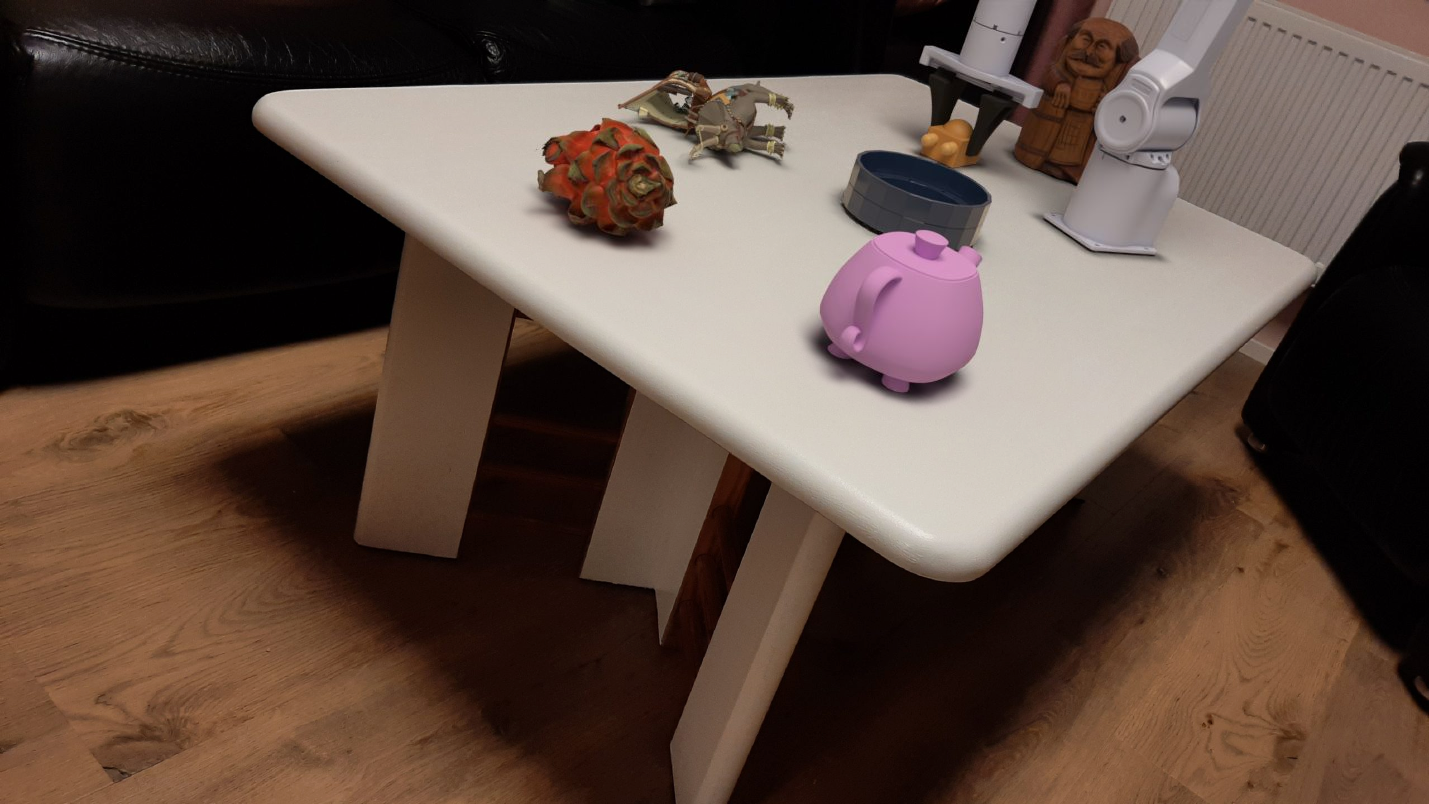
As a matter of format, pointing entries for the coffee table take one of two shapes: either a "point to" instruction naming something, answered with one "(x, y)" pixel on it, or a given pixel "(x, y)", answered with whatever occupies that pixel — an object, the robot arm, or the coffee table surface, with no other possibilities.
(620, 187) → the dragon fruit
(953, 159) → the orange toy brick
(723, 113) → the figurine
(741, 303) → the coffee table surface
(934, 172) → the bowl
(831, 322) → the teapot
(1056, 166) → the wooden figurine
